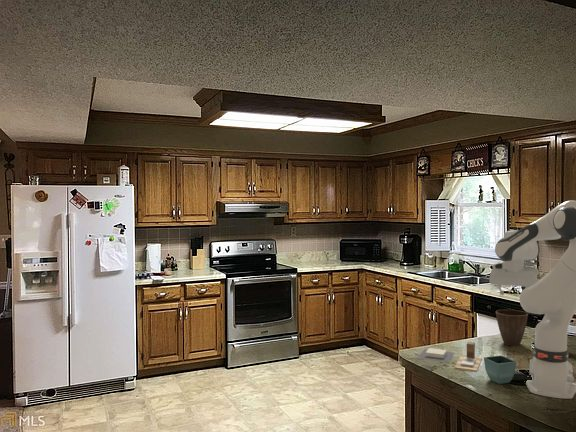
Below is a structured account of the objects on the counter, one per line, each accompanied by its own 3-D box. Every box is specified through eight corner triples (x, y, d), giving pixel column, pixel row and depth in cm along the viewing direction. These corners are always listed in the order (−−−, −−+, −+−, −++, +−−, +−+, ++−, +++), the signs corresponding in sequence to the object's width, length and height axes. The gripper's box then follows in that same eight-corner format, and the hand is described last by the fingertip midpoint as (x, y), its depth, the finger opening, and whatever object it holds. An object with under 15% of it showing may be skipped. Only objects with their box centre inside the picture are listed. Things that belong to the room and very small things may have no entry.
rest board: (476, 372, 208) (476, 370, 208) (454, 368, 213) (454, 367, 213) (482, 359, 226) (482, 357, 226) (461, 356, 230) (461, 354, 230)
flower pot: (497, 386, 192) (497, 363, 191) (483, 379, 200) (483, 357, 200) (516, 384, 194) (516, 361, 194) (501, 377, 202) (501, 355, 202)
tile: (446, 354, 232) (443, 358, 225) (429, 352, 236) (425, 356, 229) (446, 350, 232) (443, 354, 225) (429, 347, 236) (425, 352, 229)
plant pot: (490, 343, 252) (490, 312, 252) (504, 338, 262) (504, 308, 262) (519, 349, 241) (519, 317, 241) (533, 344, 251) (533, 312, 250)
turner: (472, 367, 212) (472, 351, 212) (460, 365, 214) (460, 349, 214) (477, 357, 225) (477, 342, 225) (465, 356, 228) (465, 341, 228)
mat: (448, 363, 220) (448, 362, 220) (417, 358, 227) (417, 357, 227) (454, 353, 235) (454, 352, 235) (424, 349, 241) (424, 349, 241)
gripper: (538, 265, 225) (538, 295, 225) (490, 263, 234) (490, 292, 234) (538, 267, 219) (538, 298, 219) (489, 264, 229) (488, 294, 229)
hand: (513, 295), depth 227 cm, fingers open, 8 cm apart
